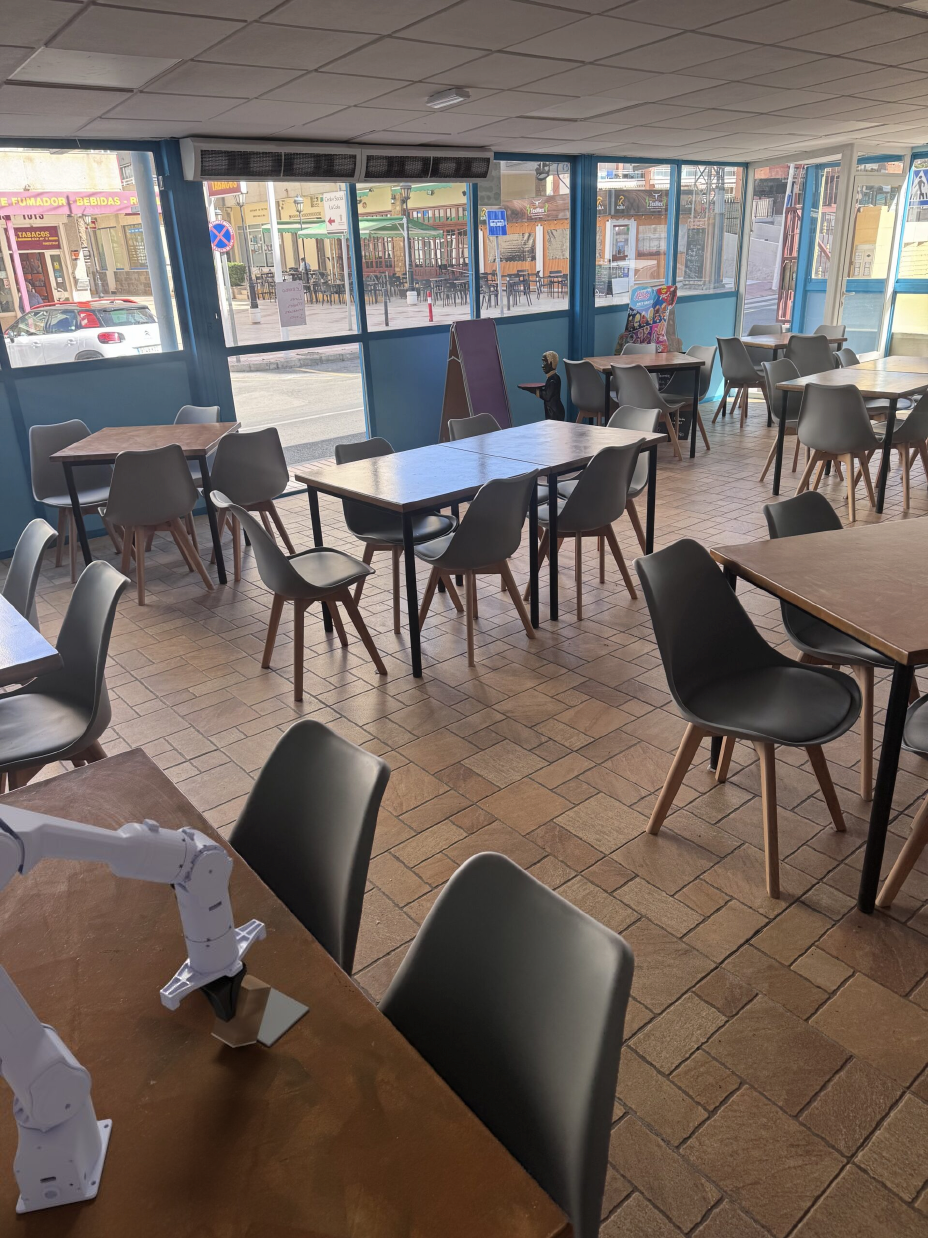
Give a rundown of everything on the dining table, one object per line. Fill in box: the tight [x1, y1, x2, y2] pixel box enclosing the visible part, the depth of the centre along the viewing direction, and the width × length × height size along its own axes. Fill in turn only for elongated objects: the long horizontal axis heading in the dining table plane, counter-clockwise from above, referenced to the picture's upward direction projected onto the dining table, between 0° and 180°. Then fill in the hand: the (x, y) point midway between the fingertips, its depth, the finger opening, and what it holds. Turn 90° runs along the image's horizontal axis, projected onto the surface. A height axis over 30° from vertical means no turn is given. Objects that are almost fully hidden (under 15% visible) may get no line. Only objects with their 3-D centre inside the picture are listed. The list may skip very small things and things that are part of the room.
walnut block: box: [211, 974, 273, 1049], centre depth 111 cm, size 4×4×7 cm
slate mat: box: [257, 987, 310, 1048], centre depth 115 cm, size 7×8×1 cm
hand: (225, 1016), depth 108 cm, fingers closed
